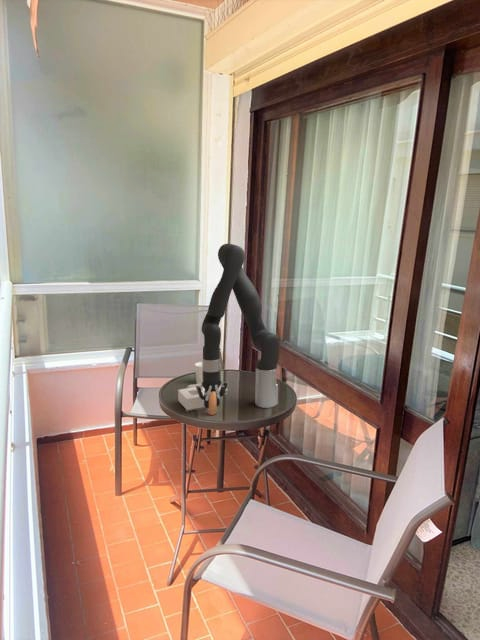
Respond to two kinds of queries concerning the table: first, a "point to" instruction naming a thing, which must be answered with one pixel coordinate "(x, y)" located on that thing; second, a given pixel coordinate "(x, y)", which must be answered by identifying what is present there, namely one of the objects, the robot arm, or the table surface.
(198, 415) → the table surface
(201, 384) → the washcloth
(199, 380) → the white cup
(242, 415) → the table surface
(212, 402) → the plug
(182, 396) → the socket block
